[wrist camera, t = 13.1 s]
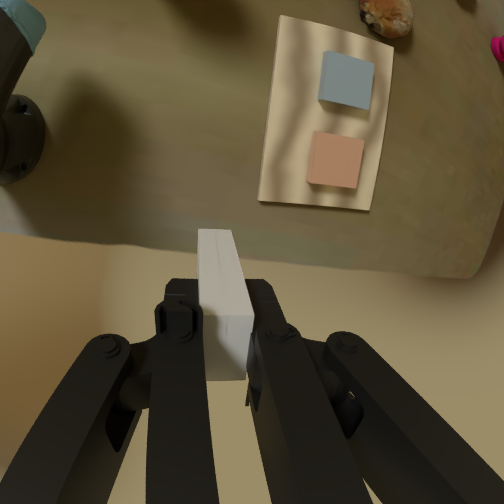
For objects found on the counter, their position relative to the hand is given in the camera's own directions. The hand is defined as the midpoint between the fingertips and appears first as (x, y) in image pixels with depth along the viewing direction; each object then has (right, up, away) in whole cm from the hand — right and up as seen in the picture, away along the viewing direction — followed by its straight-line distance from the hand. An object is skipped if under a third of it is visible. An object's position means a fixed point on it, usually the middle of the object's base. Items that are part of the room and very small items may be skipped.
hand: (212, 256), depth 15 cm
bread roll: (+24, +41, +24) cm, 53 cm away
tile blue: (+12, +26, +25) cm, 39 cm away
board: (+14, +22, +31) cm, 40 cm away
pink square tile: (+11, +15, +31) cm, 36 cm away
